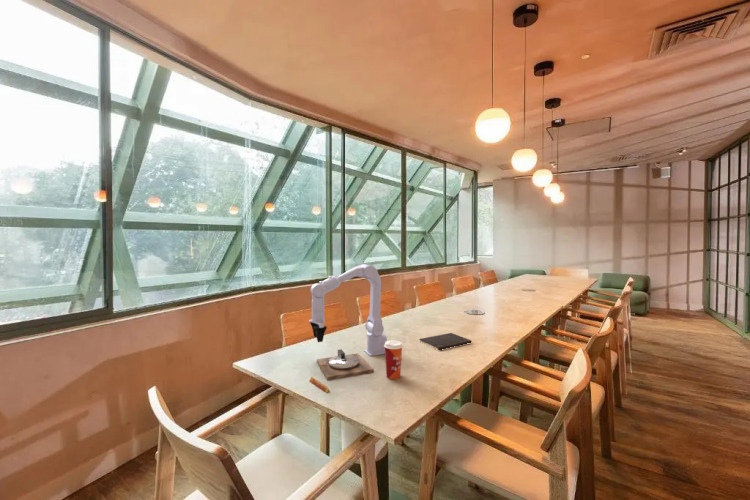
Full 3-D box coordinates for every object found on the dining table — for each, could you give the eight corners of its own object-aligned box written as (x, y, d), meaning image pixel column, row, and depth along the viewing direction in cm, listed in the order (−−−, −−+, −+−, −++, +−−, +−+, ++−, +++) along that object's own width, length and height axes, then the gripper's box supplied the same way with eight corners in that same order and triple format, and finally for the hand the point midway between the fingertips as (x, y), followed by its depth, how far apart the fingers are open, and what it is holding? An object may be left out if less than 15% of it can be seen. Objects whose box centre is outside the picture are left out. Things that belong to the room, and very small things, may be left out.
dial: (353, 355, 149) (353, 347, 149) (362, 366, 136) (362, 357, 136) (325, 359, 144) (325, 351, 144) (333, 371, 131) (333, 362, 131)
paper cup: (397, 382, 125) (397, 347, 124) (380, 377, 129) (380, 343, 128) (406, 375, 131) (406, 341, 131) (389, 370, 136) (390, 338, 135)
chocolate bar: (314, 381, 127) (314, 375, 127) (330, 392, 118) (330, 386, 118) (308, 383, 125) (308, 377, 125) (324, 394, 116) (324, 388, 116)
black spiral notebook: (419, 343, 173) (419, 338, 173) (451, 336, 184) (451, 332, 184) (438, 352, 159) (438, 347, 159) (471, 344, 170) (471, 340, 170)
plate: (357, 355, 153) (357, 352, 153) (373, 372, 134) (373, 368, 134) (316, 361, 145) (316, 358, 145) (327, 380, 127) (327, 376, 127)
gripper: (306, 307, 151) (306, 335, 151) (312, 314, 137) (312, 345, 138) (321, 306, 154) (321, 334, 154) (328, 312, 140) (328, 343, 141)
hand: (318, 339), depth 146 cm, fingers open, 7 cm apart
